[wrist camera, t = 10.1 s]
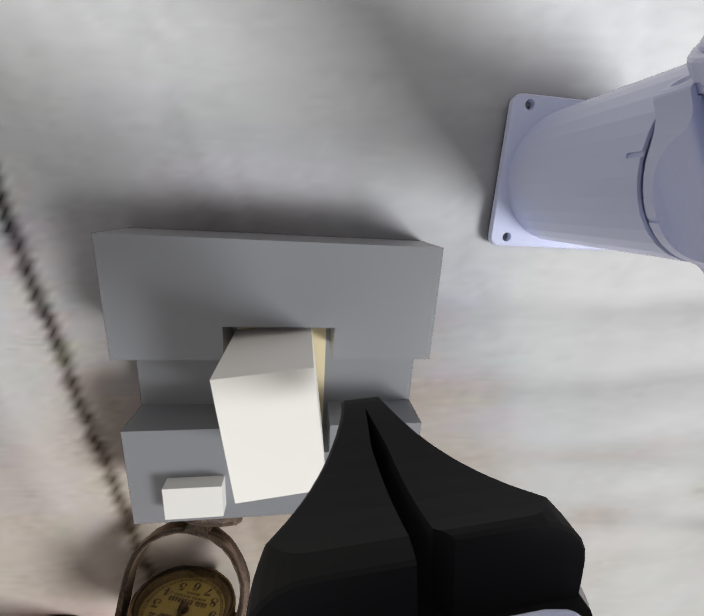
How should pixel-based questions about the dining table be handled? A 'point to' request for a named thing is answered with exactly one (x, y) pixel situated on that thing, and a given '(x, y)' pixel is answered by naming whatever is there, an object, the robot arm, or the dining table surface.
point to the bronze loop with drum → (187, 578)
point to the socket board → (251, 313)
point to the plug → (269, 412)
